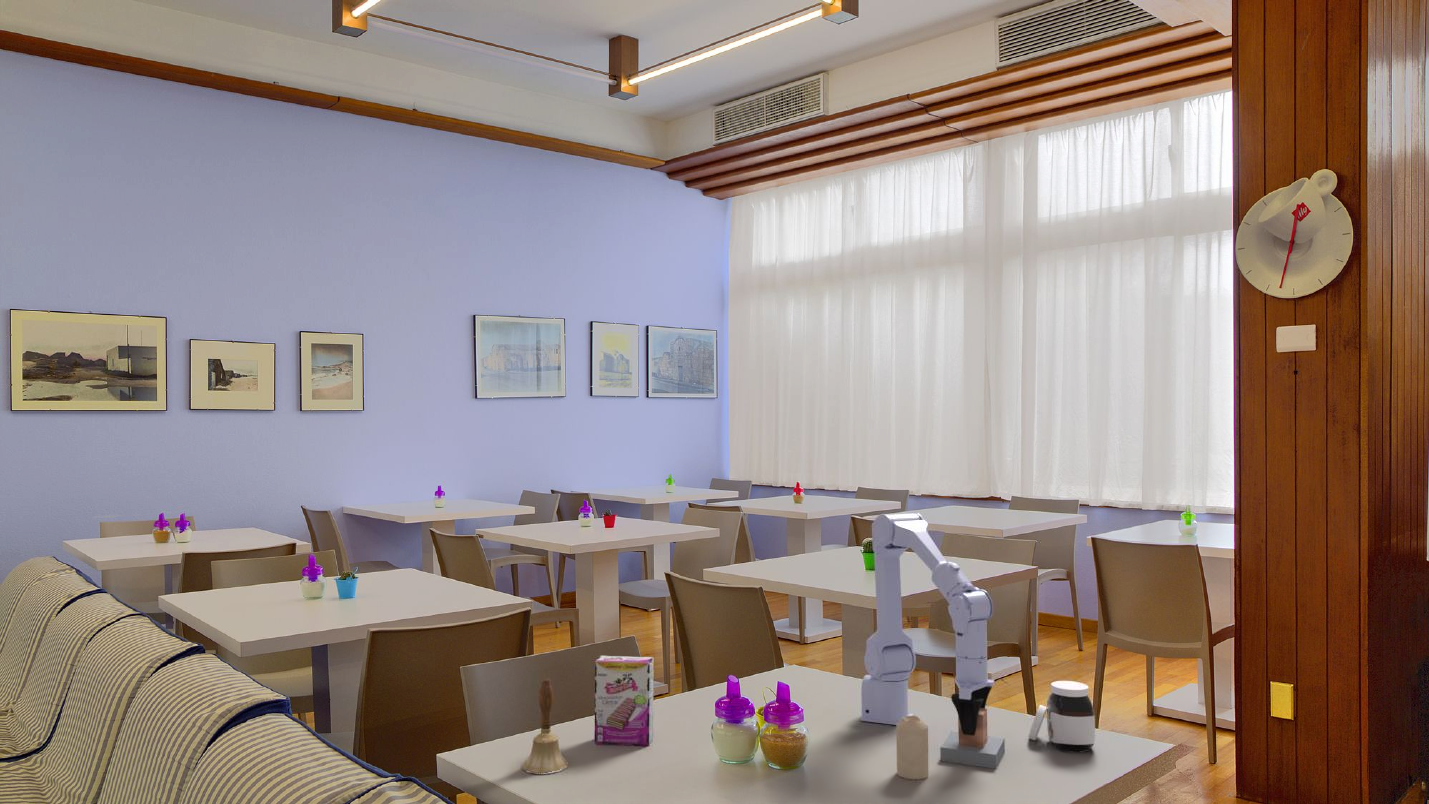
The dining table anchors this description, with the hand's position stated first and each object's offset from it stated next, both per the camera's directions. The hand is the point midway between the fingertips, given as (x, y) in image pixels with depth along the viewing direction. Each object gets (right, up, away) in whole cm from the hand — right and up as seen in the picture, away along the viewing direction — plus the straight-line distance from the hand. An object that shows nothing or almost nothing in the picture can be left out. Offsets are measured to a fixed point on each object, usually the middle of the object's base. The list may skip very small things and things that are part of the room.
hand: (972, 728), depth 177 cm
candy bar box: (-66, -6, +9) cm, 67 cm away
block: (0, -3, 0) cm, 3 cm away
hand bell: (-80, -6, -4) cm, 80 cm away
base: (0, -5, 0) cm, 5 cm away
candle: (-13, -5, -9) cm, 17 cm away
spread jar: (+19, -6, +6) cm, 21 cm away
